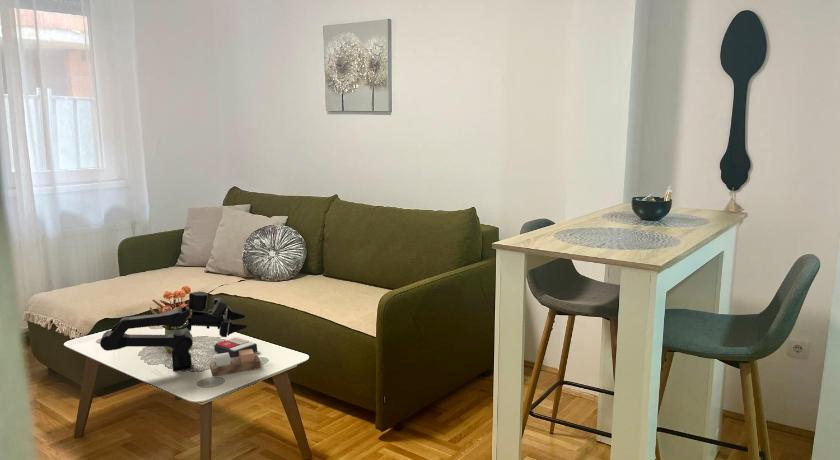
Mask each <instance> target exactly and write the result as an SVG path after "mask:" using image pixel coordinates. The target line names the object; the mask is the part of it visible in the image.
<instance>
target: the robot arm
mask: <svg viewBox="0 0 840 460" xmlns="http://www.w3.org/2000/svg"><path fill="white" fill-rule="evenodd" d="M208 295H209V294H208V293H207V292H205V291H193V292H189V293H188V304H186V305H184V306H183V307H180V308H174V309H170V310H166V311H165V312H162V313H155V314H145V315H136V316H123V317H122V318H121V319H120V320H119V321H118V322H117V323H116V324H115V325H114V326H113V327H112V328H111V329H110V330H107V331H105V332H104V333H103V334H102V336H101V339H100V342H99V345H100V347H101V349H102V350H103V351H106V352H107V351H116V350H121V349H123V348H128V347H129V348H130V347H148V348H149V347H151V348H152V347H153V348H154V347H159V348H160V347H166V348H170V349H171V361H172V362H171V363H172V364H171V366H172V371H173V372H175V371H182V370H189V369H191V368H192V363H193V361H192V354H191V353H190V349H191V348H192V347H193V345H194V344H193V343H194V341H193V338H194V337H193V334H192V333H191V331H192V327H206V329H210V327H211V328H217V330H218V332H219V336H220V337H221V338H227V337H228V336H230V335H232V334H234V333H236V332H238V331H241V330H243V329H246V328H247V326H248V325H247V324H245V323H239V322H235V321H236V320H242V319H245V318H246V315H245V314H243V313H241V312H238V311H234V310H233V309H232V308H231V307H230V306H229V305H228V303H227V300H225V299H223V297H215V298H214V299H213V301H212V303H213V304H214V305H213V308H212V309H208V311H204V310H205V309H207V303H208ZM186 322H187V323H186ZM157 326H165V327H169V328H181V327H183V326H184V327H185V328H186V329H187V330H188V331H187V330H186V329H173V333H169V334H128V333H126V332H127V331H128V330H130V329H138V328H139V329H140V328H149V327H157Z"/></svg>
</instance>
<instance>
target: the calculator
mask: <svg viewBox="0 0 840 460" xmlns="http://www.w3.org/2000/svg"><path fill="white" fill-rule="evenodd" d="M213 347H214V352H216V353H217V354H222V353H229V356H230V358H234V357H239V351H241V350H247V349H252V350H253V352H254V354H257V352H258V343H256V342H253V341H250V340H247V339H244V338H243V339H242V338H241V337H237V336H235V337H232V338H229V339H226V340H222V341H220V342H216V343H215V344H214V345H213Z"/></svg>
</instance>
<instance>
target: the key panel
mask: <svg viewBox="0 0 840 460" xmlns="http://www.w3.org/2000/svg"><path fill="white" fill-rule="evenodd" d="M230 364H231V365H225V366H219V367H216V364H215V360H209V369H210V373H211V377H217V376H218V377H219V376H222V375H228V374H235V373H240V372H246V371H251V370H252V371H253V370H258V369H259V370H260V369H261V368H262V367H261V366H262V365H261V359H260V357H259V355H258V354H257V353H254V361H250V362H244V363H240V360H239V357H234V358H230Z"/></svg>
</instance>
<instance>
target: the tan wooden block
mask: <svg viewBox="0 0 840 460" xmlns="http://www.w3.org/2000/svg"><path fill="white" fill-rule="evenodd" d="M254 354H255V353H254V352H253V350H252V349H247V350H241V351H239V360H240V363H244V362H250V361H254Z"/></svg>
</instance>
